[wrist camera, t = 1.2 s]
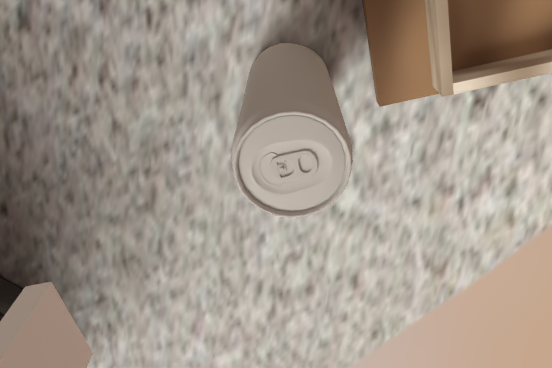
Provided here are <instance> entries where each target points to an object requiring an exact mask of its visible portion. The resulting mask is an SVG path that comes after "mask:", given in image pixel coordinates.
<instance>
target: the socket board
mask: <svg viewBox="0 0 552 368" xmlns="http://www.w3.org/2000/svg"><path fill="white" fill-rule="evenodd" d="M362 1H363V8H364V15H365V22H366V29H367V36H368V43H369V50H370V57H371V64H372V71H373V78H374V85H375V92H376V100H377V103H378V104H379V106H384V105H389V104H393V103H398V102H402V101H407V100H412V99H416V98H421V97H425V96H430V95H435V94H439V93H440V94H441V96H447V95H452V94H456V93H461V92H466V91H470V90H475V89H479V88H484V87H489V86H493V85H498V84H502V83H507V82H512V81H516V80H521V79H525V78H530V77H535V76H539V75H544V74H548V73H552V0H362Z"/></svg>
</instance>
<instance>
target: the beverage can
mask: <svg viewBox="0 0 552 368" xmlns="http://www.w3.org/2000/svg"><path fill="white" fill-rule="evenodd" d="M231 159H232V166H233V172H234V175H235V180H236V182H237V184H238V186H239V189H240V191H241V192H242V193H243V195H244V196H245V197H246V198H247V199H248V200H249V202H250V203H252V204H253V205H255V206H256V207H258V208H259V209H260V210H262V211H264V212H267V213H269V214H272V215H275V216H280V217H287V218H294V217H305V216H308V215H311V214H314V213H318V212H319V211H321V210H323V209H325V208H326V207H328V206H330V205H331V204H332V203H333V202H334V201H335V200H336V199H337V198H338V197H339V196H340V195H341V194H342V192H343V190H344V189H345V187H346V185H347V184H348V181H349V177H350V173H351V166H352V162H353V160H352V144H351V141H350V138H349V135H348V132H347V129H346V126H345V123H344V120H343V116H342V113H341V110H340V107H339V104H338V101H337V98H336V95H335V92H334V89H333V86H332V82H331V79H330V76H329V73H328V70H327V67H326V65H325V63H324V62H323V60H322V59H321V57H320V56H319V55H318V54H316V53H315V52H314V51H313V50H311V49H309V48H307V47H305V46H302V45H299V44H294V43H279V44H276V45H273V46H270V47H268V48H267V49H266V50H264V51H263V52H262V53H260V55H259V56H258V57H257V58H256V60H255V61H254V63H253V65H252V67H251V70H250V72H249V76H248V81H247V85H246V89H245V94H244V98H243V102H242V106H241V111H240V115H239V119H238V123H237V128H236V132H235V136H234V141H233V148H232V155H231Z"/></svg>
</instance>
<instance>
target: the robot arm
mask: <svg viewBox="0 0 552 368" xmlns="http://www.w3.org/2000/svg"><path fill="white" fill-rule="evenodd" d="M92 354H93V352H92V350H91V349H90V347H89V345H88V343H87V342H86V340H85V338H84V337H83V335H82V333H81V331H80V330H79V328H78V326H77V325H76V323H75V321H74V319H73V318H72V316H71V314H70V313H69V311H68V309H67V307H66V306H65V304H64V302H63V301H62V299H61V297H60V295H59V294H58V292H57V290H56V289H55V287H54V285H53V283H52V282H46V283H41V284H36V285H31V286H25V288H24V289H23V290H22V289H21V288H19V287H17V286H16V285H14V284H12V283H10V282H8V281H6V280H4V279H2V278H0V368H87V365H88V363H89V361H90V359H91V356H92Z"/></svg>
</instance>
